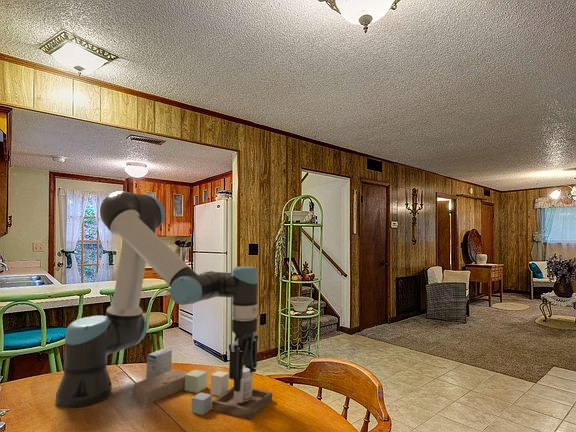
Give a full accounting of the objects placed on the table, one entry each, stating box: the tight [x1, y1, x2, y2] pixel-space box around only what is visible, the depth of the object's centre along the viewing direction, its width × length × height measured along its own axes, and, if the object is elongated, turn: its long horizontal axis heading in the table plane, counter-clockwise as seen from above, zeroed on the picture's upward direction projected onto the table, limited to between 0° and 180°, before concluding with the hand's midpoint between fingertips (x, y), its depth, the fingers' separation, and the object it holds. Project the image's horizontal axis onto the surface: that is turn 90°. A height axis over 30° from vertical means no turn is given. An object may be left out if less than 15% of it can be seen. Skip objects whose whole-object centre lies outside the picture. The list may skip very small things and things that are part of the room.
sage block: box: [184, 369, 208, 394], centre depth 119 cm, size 5×5×5 cm
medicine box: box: [145, 348, 173, 379], centre depth 128 cm, size 8×4×9 cm, turn 158°
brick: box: [131, 368, 188, 405], centre depth 116 cm, size 17×8×5 cm, turn 144°
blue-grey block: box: [190, 391, 213, 415], centre depth 104 cm, size 4×4×4 cm
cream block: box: [210, 370, 229, 397], centre depth 115 cm, size 4×4×6 cm
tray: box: [211, 386, 273, 420], centre depth 107 cm, size 13×13×2 cm
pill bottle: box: [242, 367, 251, 402], centre depth 108 cm, size 5×5×8 cm
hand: (243, 397), depth 107 cm, fingers closed on pill bottle, 5 cm apart
